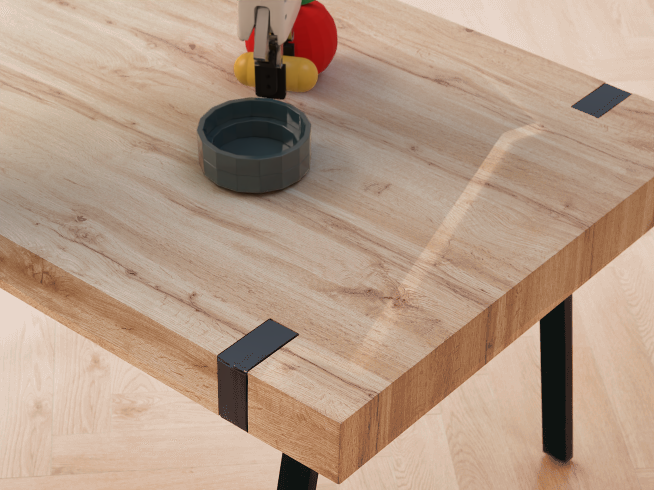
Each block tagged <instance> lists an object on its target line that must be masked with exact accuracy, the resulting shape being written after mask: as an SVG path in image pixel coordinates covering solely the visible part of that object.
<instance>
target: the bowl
mask: <svg viewBox="0 0 654 490" xmlns="http://www.w3.org/2000/svg"><path fill="white" fill-rule="evenodd" d="M196 140H197V153H198V164H199V166H200V168H201V171H202V173H203V175H204V176H205V177H206V178H207V179H208V180H210V182H213V184H215V185H216V186H217V187H221V188H224V189H227V190H230V191H234V192H237V193H249V194H251V193H252V194H263V193H264V194H265V193H269V192H275V191H280V190H284V189H285V188H288V187H289V186H291V185H293V184H295V183H298V182H299V181H301V179H302V178H303V177H304V176H305V175H306V174H307V173H308V172H309V171H310V167H311V162H312V161H311V160H312V123H311V122H310V119H309V118H308V116H307V115H306V113H305V112H304V111H302V110H301V109H299V108H298V107H297V106H294V105H293V104H292V103H290V102H285V101H283V100H280V99H271V98H262V97H257V96H256V97H255V96H254V97H253V96H249V97H242V98H236V99H230V100H229V99H228V100H226V101H224V102H221V103H219V104H217V105H214V106H212V107H211V108H210V109H208V110H207V111H206V112H204V114H203V115H202V116H200V118H199V120H198V124H197V127H196Z"/></svg>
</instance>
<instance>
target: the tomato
mask: <svg viewBox="0 0 654 490" xmlns="http://www.w3.org/2000/svg"><path fill="white" fill-rule="evenodd" d="M288 43H295V57H301V58H306V59H309V60H310V61H312V62H313V63H314V65H315V66H316V68H317V71H318V75H320V74H321V73H322V72H324V71H325V70H326V69H327V68H328V67H329V65H331V62H332V61H333V59H334V58H335V56H336V53H337V50H338V28H337V25H336V22H335V19H334V17H333V16H332V14H331V12H329V11H328V9H327V8H326V6H325V4H323V3H321V2H320V1H318V0H302V1H301V6H300V10H299V12H298V15H297V17H296V20H295V22H294V39H293V42H288ZM244 44H245V49H246V52H254V29H253V31H252V33H251V35H250V37H249V39H248V41H247V40H244Z"/></svg>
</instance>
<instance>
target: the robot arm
mask: <svg viewBox="0 0 654 490" xmlns="http://www.w3.org/2000/svg"><path fill="white" fill-rule="evenodd" d="M301 1H302V0H236V24H237V26H236V27H237V28H236V32H237V38H238V39H239V41H240V42H245V40H247V41H248V39H249V37H250V35H251V33H252V31H253V29H254V53H253V59H254V67H255V87H254V91H255V96H256V97H257V98H271V99H275V100H279V101H284V100H285V99H286V97H287V91H286V64H283V55H284V56H293V57H295V43H288V42H293V39H294V22H295V20H296V17H297V15H298V12H299V10H300V6H301Z"/></svg>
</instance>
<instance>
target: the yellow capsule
mask: <svg viewBox="0 0 654 490" xmlns="http://www.w3.org/2000/svg"><path fill="white" fill-rule="evenodd" d="M253 53H254V52H247V51H246V52H244V53H242V54H240V55H239V56H238V57H237V58H236V60H235V61H234V64H233V74H234V77H235V78H236V80H237V81H238V82H239V83H240V84H242V85H243V86H245V87H250V88H255V67H254V59H253ZM283 64H286V92H294V93H306V92H309V91H310V90H312V89H313V88H314V87H315V86H316V84H317V82H318V79H319V74H318V71H317V68H316V66H315V65H314V63H313V62H312V61H310V60H309V59H306V58H301V57H293V56H284V55H283Z"/></svg>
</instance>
